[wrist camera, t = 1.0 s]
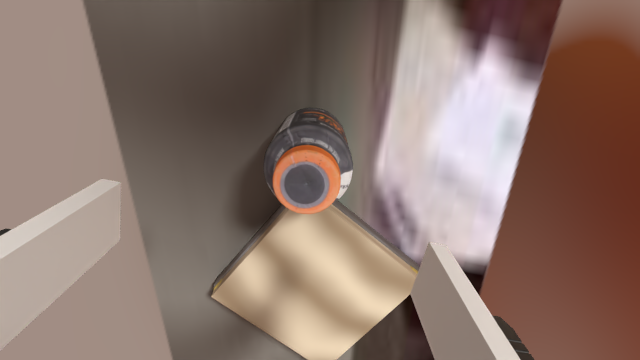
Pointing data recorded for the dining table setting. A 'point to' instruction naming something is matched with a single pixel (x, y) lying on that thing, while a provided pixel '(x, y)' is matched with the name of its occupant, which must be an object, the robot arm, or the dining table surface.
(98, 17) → the dining table surface
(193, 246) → the dining table surface
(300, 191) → the pill bottle
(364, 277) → the plate
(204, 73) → the dining table surface
